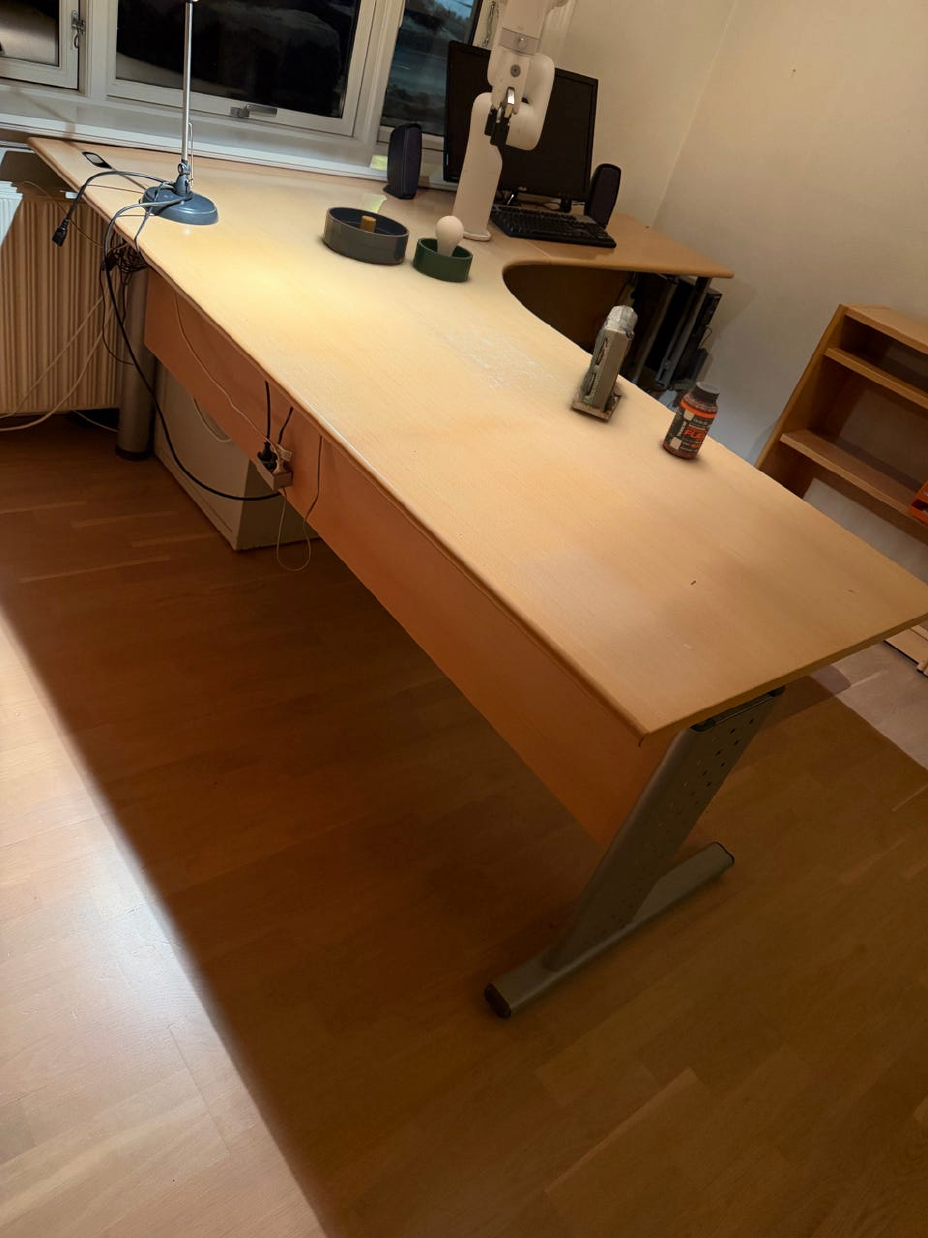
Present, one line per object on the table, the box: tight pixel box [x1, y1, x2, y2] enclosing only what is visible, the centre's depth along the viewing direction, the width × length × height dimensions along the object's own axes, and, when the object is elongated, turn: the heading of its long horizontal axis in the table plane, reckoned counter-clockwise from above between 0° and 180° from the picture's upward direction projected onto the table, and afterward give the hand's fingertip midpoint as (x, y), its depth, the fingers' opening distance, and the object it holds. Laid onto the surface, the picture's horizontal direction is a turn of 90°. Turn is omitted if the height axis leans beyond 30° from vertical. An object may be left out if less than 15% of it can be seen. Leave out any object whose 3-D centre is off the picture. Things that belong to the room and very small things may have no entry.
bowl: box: [322, 206, 411, 265], centre depth 180 cm, size 18×18×6 cm
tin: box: [412, 237, 474, 283], centre depth 182 cm, size 12×13×5 cm
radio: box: [571, 304, 638, 421], centre depth 144 cm, size 23×9×15 cm, turn 158°
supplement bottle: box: [662, 381, 721, 459], centre depth 134 cm, size 6×6×11 cm
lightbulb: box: [434, 215, 464, 256], centre depth 180 cm, size 6×6×11 cm
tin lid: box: [360, 216, 376, 233], centre depth 179 cm, size 13×13×6 cm
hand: (493, 140), depth 173 cm, fingers open, 9 cm apart
